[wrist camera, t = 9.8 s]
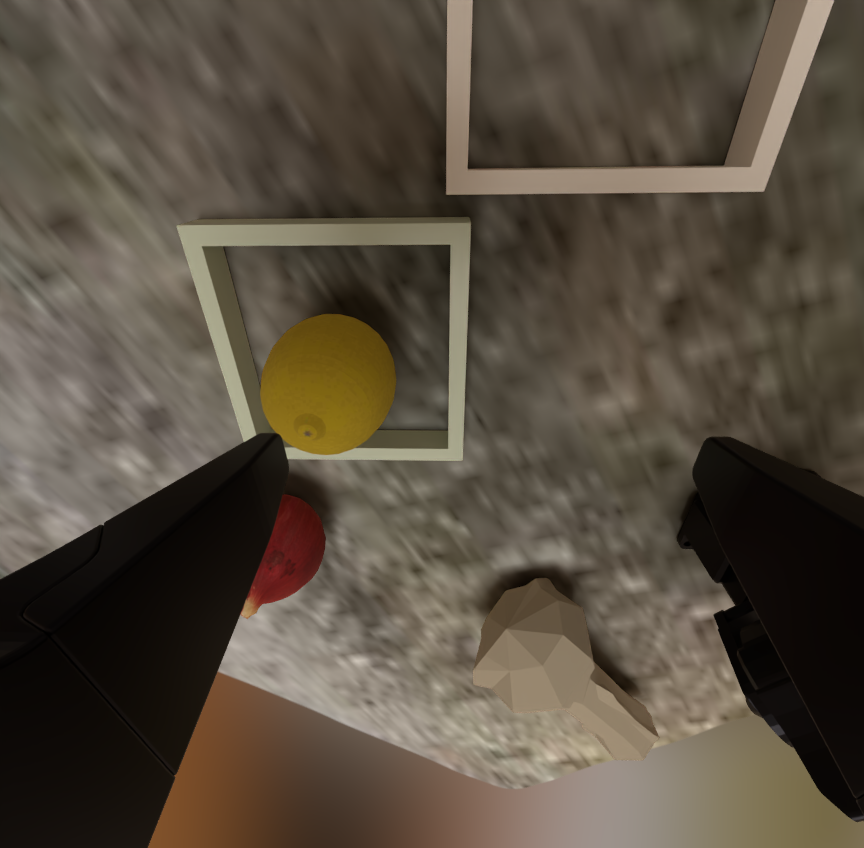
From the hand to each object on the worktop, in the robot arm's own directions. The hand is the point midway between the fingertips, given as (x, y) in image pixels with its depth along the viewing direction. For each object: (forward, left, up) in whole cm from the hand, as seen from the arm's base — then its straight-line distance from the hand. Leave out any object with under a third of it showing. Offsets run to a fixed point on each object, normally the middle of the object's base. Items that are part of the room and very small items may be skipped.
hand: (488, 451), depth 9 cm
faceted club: (-10, +31, -13) cm, 35 cm away
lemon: (+6, +3, -13) cm, 15 cm away
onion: (+11, +14, -13) cm, 22 cm away
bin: (+6, +3, -13) cm, 15 cm away
